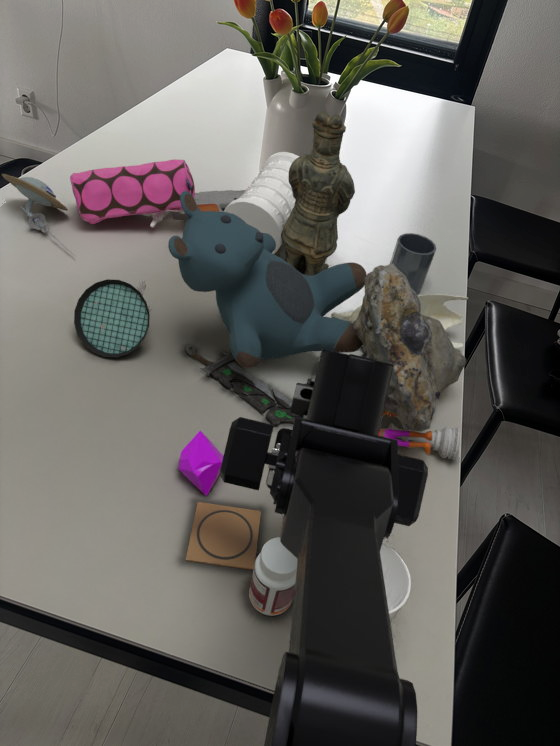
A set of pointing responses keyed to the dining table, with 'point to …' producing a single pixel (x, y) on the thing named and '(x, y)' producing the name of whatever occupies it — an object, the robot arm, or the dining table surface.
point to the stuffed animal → (263, 288)
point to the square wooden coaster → (224, 536)
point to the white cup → (394, 579)
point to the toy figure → (396, 433)
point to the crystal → (201, 462)
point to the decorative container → (268, 198)
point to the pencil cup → (413, 258)
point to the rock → (406, 346)
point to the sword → (246, 386)
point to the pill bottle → (273, 579)
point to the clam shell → (423, 311)
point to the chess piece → (438, 440)
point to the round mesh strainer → (112, 317)
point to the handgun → (211, 202)
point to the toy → (36, 200)
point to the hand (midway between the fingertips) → (319, 461)
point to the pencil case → (131, 190)
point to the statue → (317, 198)
